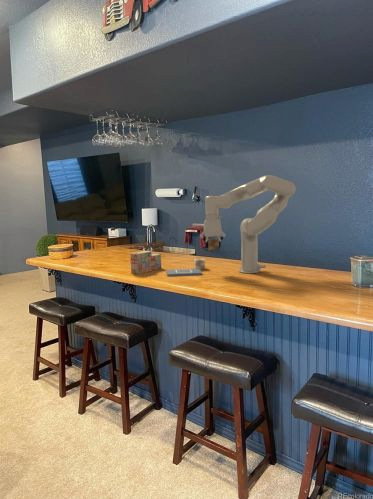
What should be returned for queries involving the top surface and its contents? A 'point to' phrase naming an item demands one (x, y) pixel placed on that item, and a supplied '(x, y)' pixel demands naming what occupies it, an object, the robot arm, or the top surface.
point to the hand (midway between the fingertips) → (213, 248)
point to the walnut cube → (213, 244)
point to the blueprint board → (183, 272)
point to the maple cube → (199, 264)
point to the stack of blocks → (144, 262)
